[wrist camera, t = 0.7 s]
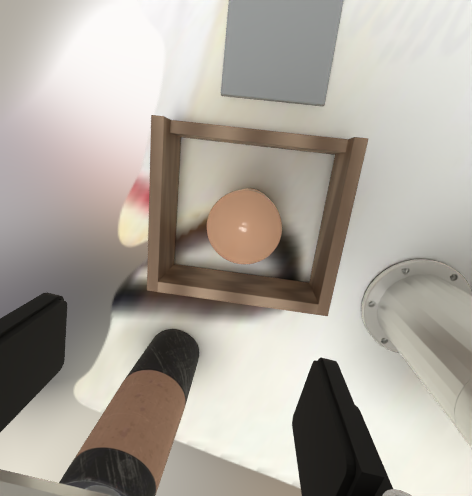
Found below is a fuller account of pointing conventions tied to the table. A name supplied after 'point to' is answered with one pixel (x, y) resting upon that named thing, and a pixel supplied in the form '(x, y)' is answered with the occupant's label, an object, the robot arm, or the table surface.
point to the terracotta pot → (244, 226)
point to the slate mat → (280, 49)
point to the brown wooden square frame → (238, 284)
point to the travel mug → (139, 422)
